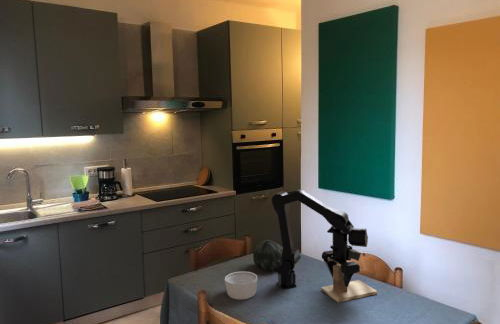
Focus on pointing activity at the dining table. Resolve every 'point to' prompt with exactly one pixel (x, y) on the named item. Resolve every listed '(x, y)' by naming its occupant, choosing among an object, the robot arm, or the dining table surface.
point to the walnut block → (338, 280)
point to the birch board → (350, 291)
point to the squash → (267, 255)
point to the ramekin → (241, 285)
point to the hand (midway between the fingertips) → (340, 282)
